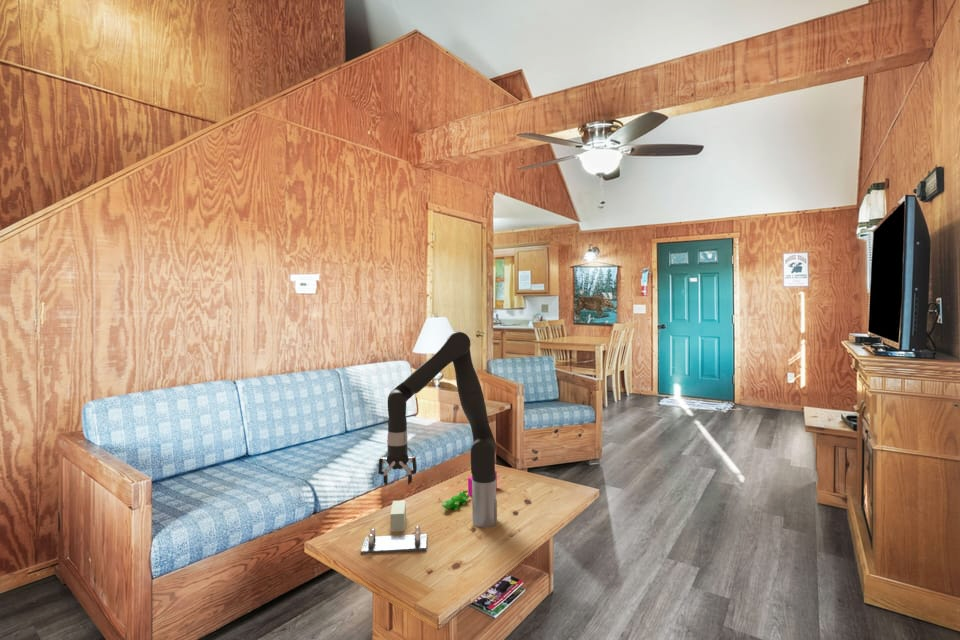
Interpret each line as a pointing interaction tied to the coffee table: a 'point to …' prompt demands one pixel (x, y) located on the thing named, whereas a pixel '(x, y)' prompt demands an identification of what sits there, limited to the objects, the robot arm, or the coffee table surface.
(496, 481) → the toy block
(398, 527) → the block
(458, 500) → the crocodile figurine
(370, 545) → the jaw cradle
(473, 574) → the coffee table surface
